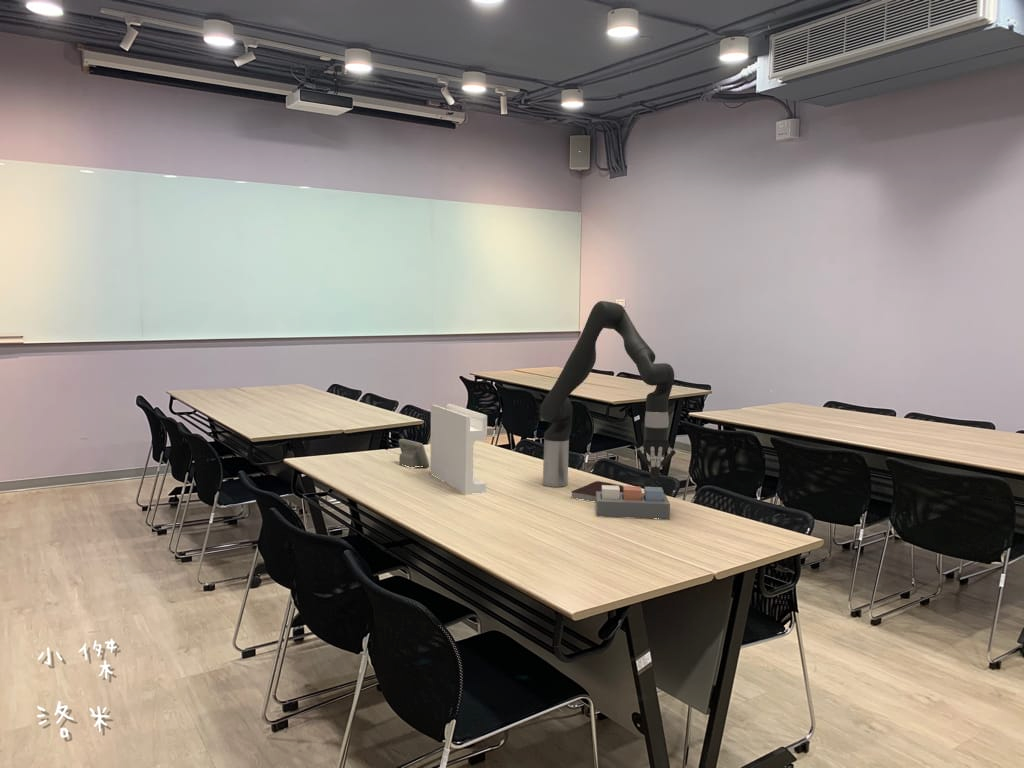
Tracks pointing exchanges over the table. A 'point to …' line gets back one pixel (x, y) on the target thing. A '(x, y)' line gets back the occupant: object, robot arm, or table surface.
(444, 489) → the table surface
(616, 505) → the console
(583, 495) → the book
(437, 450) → the block
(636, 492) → the key terracotta
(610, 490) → the key white
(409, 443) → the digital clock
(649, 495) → the key blue
